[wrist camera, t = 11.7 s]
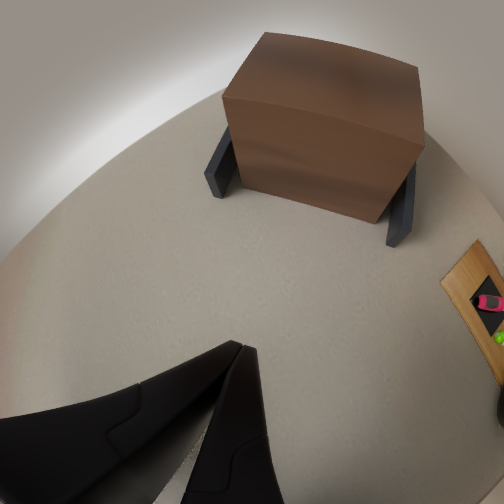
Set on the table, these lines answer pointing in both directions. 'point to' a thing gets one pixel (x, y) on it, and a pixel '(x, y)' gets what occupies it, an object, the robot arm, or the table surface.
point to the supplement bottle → (501, 408)
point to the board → (480, 303)
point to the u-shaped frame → (402, 201)
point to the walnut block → (325, 123)
